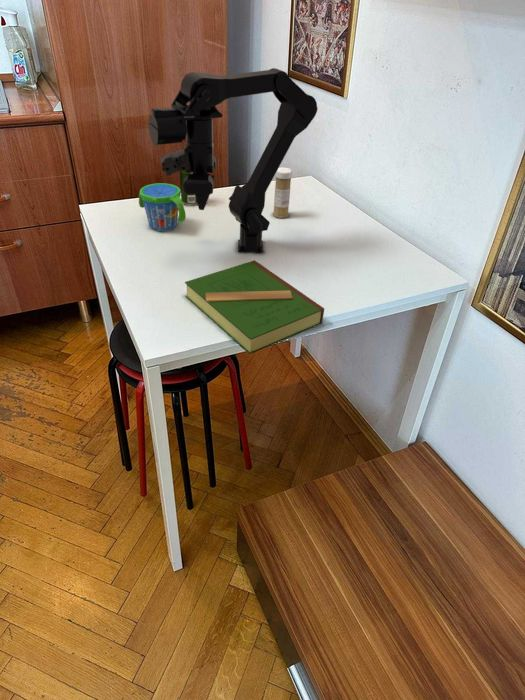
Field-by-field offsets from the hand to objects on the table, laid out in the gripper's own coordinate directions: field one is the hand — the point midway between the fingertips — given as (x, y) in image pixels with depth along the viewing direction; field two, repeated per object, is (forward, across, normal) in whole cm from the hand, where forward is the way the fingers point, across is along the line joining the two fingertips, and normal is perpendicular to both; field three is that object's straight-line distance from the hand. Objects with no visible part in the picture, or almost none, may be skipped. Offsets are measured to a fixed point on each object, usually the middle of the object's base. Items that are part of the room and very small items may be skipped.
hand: (201, 209), depth 118 cm
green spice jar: (+13, -34, -6) cm, 37 cm away
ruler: (+9, +24, +11) cm, 28 cm away
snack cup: (+13, -17, -12) cm, 25 cm away
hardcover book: (+13, +23, +12) cm, 29 cm away
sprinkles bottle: (+13, -27, +21) cm, 37 cm away
